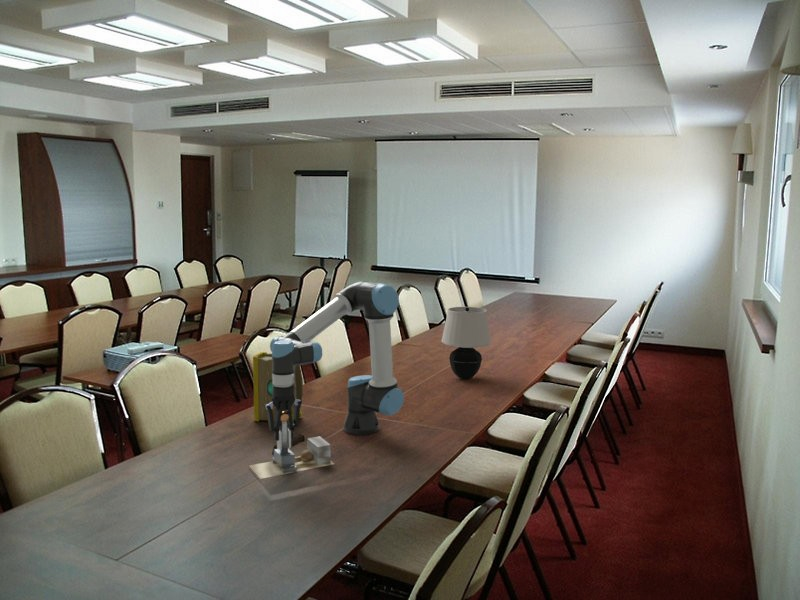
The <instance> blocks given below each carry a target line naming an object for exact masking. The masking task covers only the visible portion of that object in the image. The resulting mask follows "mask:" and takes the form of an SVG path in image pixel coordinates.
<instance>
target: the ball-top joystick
mask: <svg viewBox="0 0 800 600" xmlns="http://www.w3.org/2000/svg"><path fill="white" fill-rule="evenodd" d="M288 420H289V415H288V413H287V412H285V411H283V412H282V414H281V422H280V430H279V431H281V434H282V450H279V449H274V455H273V457H271V461H273V462H277V464H278V465H279V466H280V467H281V468H282V467H285V468H282V472H283V473H286V472H291V471H296V470H297V467H296V466H292V465H295V457H296V456H295V455H296V454H295V453H294V452H293V451H292V450H291V448H288V429H289V428H288ZM287 466H290V467H287Z"/></svg>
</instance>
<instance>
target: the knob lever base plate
mask: <svg viewBox="0 0 800 600" xmlns="http://www.w3.org/2000/svg"><path fill="white" fill-rule="evenodd" d="M306 439H307V442H306V443H307V444H306V445H307V446H306V447H307V449H306V450H309V451H310V452H311V453H312V455H313V457H312V460H311V461H307V462H303V461H302V460H301V457H300V456H301V455H299V456H295V465H292V466H296V467H297V470H296V471H291V472H286V473H283V472H282V468H285V467H282V468H281V467H280V466H279V465H278V464H277V462H273V461H272V460H271V461H266V462H261V463H260V462H259V463H256V464H251V465H249V467H250V468H249V469H248V470H249V472H250V473H251V474H252V475H253V476H254V477H255V478H256V480H257V481H258V482H259V483H260V484H261V483H262V482H261V480H262V479H266V478H272V477H277V476H283V475H287V474H292V473H298V472H302V471H307V470H312V469H316V468H322V467H327V466H332V465H335V462H333V460H331V458H332V456H331V444H330V443H329V442H328V441H327V440H325V439H324V438H322V436H320V435H319V436H314V437H308V438H306ZM287 467H290V466H287ZM252 471H253V472H252ZM254 473H255V474H254ZM259 479H260V480H259Z"/></svg>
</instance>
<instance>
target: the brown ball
mask: <svg viewBox="0 0 800 600" xmlns="http://www.w3.org/2000/svg"><path fill="white" fill-rule="evenodd" d="M299 456H300V457H301V460H302V461H303V462H307V461H311V460H312V457H313V455H312V453H311V452H310V451H309V450H307V449H305V450H303V451H302V452H301V453H300V455H299Z"/></svg>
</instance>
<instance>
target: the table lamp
mask: <svg viewBox="0 0 800 600" xmlns="http://www.w3.org/2000/svg"><path fill="white" fill-rule="evenodd" d="M487 313H488V310H487V309H486V308H481V307H475V306H454V307H453V306H452V307H449V308H447V314H446V319H445V323H444V327H443V332H442V337H441V340H440V341H441V343H442V344H443V345H446V346H448V347H454V348H456V349H454V350H452V351H451V352H450V354H449V358H448V359H449V365H450V368H451V370H452V372H453V373H454V375H455V376H456V377H458V379H460V380H465V381H469V380H470V379H472V378H473V377H475V376H476V375H477V374H478V372H479V370H480V368H481V365H482V360H483V357H482V354H481V353H480V351H478V350H477V349H478V348H483V347H489V346H490V345H491V344H492V341H491V335H490V328H489V321H488V314H487ZM476 348H477V349H476Z"/></svg>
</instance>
